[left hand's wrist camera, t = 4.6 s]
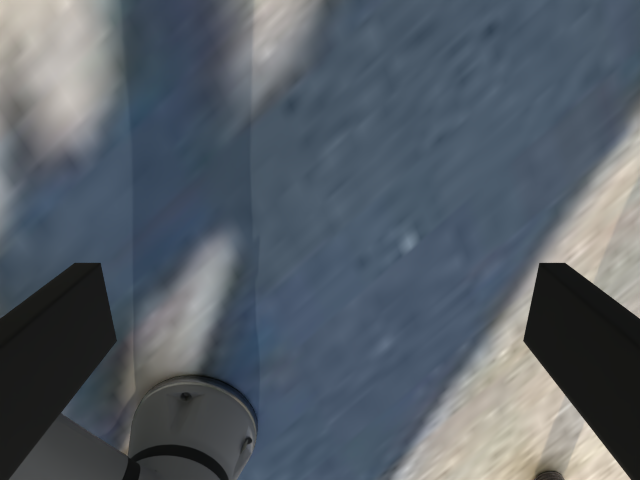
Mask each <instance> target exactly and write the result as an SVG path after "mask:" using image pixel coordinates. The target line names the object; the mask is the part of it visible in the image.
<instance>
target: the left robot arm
mask: <svg viewBox="0 0 640 480" xmlns="http://www.w3.org/2000/svg"><path fill="white" fill-rule="evenodd" d="M116 341H117V340H116V335H115V330H114V326H113V321H112V316H111V311H110V306H109V301H108V297H107V292H106V287H105V282H104V277H103V273H102V268H101V263H74V264H73V265H71V266H70V267H69V268H67V269H66V270H65V271H63V272H62V273H61V274H59V275H58V276H57V277H55V278H54V279H53V280H51V281H50V282H49V283H47V284H46V285H45V286H43V287H42V288H41V289H39V290H38V291H37V292H35V293H34V294H33V295H31V296H30V297H29V298H27V299H26V300H25V301H23V302H22V303H21V304H19V305H18V306H17V307H15V308H14V309H13V310H11V311H10V312H9V313H7V314H6V315H5V316H3V317H2V318H1V319H0V480H237V478H238V476H239V475H240V473H241V471H242V470H243V468H244V466H245V465H246V463H247V462H248V460H249V458H250V456H251V454H252V452H253V449H254V447H255V443H256V437H257V431H258V423H257V418H256V414H255V412H254V410H253V408H252V406H251V405H250V403H249V402H248V401H247V399H246V398H245V397H244V396H243V395H242V394H241V393H239V392H238V391H237V390H235V389H234V388H233V387H231V386H229V385H227V384H225V383H223V382H221V381H218V380H215V379H211V378H207V377H201V376H181V377H176V378H172V379H168V380H166V381H163V382H161V383H159V384H158V385H156V386H155V387H153V388H152V389H151V390H149V392H148V393H147V394H146V395H145V396H144V398H143V399H142V401H141V403H140V404H139V406H138V408H137V410H136V412H135V415H134V418H133V421H132V426H131V434H130V442H129V450H128V456H126V455H125V454H123V453H122V452H120V451H118V450H117V449H115V448H114V447H112V446H111V445H109V444H107V443H106V442H104V441H103V440H101V439H99V438H98V437H96V436H95V435H93V434H91V433H90V432H88V431H87V430H85V429H84V428H82V427H81V426H79V425H78V424H76V423H75V422H73V421H72V420H70V419H69V418H67V417H66V416H64V415H63V414H61V412H62V411H63V409H64V408H65V407H66V405H67V404H68V403H69V402H70V400H71V399H72V398H73V396H74V395H75V394H76V393H77V391H78V390H79V389H80V387H81V386H82V385H83V384H84V382H85V381H86V380H87V378H88V377H89V376H90V375H91V373H92V372H93V371H94V369H95V368H96V367H97V366H98V364H99V363H100V362H101V360H102V359H103V358H104V357H105V355H106V354H107V353H108V351H109V350H110V349H111V348H112V346H113V345H114V344H115V342H116ZM523 341H524V342H525V344H526V345H527V346H528V348H529V349H530V350H531V351H532V353H533V354H534V355H535V357H536V358H537V359H538V360H539V362H540V363H541V364H542V366H543V367H544V368H545V369H546V371H547V372H548V373H549V375H550V376H551V377H552V378H553V380H554V381H555V382H556V384H557V385H558V386H559V387H560V389H561V390H562V391H563V393H564V394H565V395H566V396H567V398H568V399H569V400H570V402H571V403H572V404H573V405H574V407H575V408H576V409H577V411H578V412H579V413H580V414H581V416H582V417H583V418H584V420H585V421H586V422H587V423H588V425H589V426H590V427H591V429H592V430H593V431H594V432H595V434H596V435H597V436H598V438H599V439H600V440H601V441H602V443H603V444H604V445H605V447H606V448H607V449H608V450H609V452H610V453H611V454H612V456H613V457H614V458H615V459H616V461H617V462H618V463H619V465H620V466H621V467H622V468H623V470H624V471H625V472H626V474H627V475H628V476H629V477H630V479H631V480H640V319H639V318H638V317H637V316H635V315H634V314H633V313H631V312H630V311H629V310H627V309H626V308H625V307H623V306H622V305H621V304H619V303H618V302H617V301H615V300H614V299H613V298H611V297H610V296H609V295H607V294H606V293H605V292H603V291H602V290H601V289H599V288H598V287H597V286H595V285H594V284H593V283H591V282H590V281H589V280H587V279H586V278H585V277H583V276H582V275H581V274H579V273H578V272H577V271H575V270H574V269H573V268H571V267H570V266H569V265H567V264H566V263H539V268H538V273H537V277H536V282H535V287H534V292H533V297H532V301H531V306H530V311H529V316H528V321H527V326H526V330H525V335H524V340H523Z"/></svg>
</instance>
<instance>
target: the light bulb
mask: <svg viewBox="0 0 640 480" xmlns="http://www.w3.org/2000/svg"><path fill="white" fill-rule="evenodd" d="M535 480H564V478H563V477H562V475H561V474H559V473H557V472H546V473H543V474H541V475H539V476H537V477H536V478H535Z"/></svg>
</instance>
